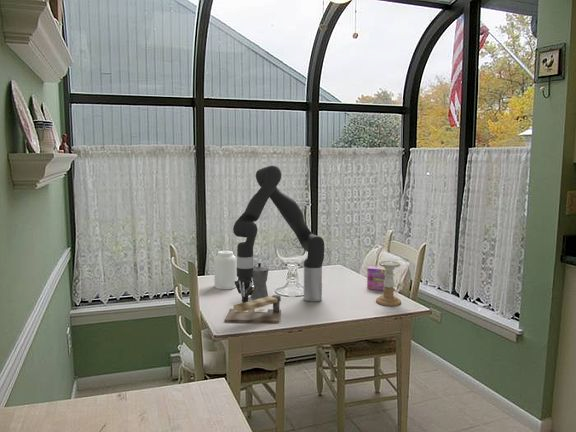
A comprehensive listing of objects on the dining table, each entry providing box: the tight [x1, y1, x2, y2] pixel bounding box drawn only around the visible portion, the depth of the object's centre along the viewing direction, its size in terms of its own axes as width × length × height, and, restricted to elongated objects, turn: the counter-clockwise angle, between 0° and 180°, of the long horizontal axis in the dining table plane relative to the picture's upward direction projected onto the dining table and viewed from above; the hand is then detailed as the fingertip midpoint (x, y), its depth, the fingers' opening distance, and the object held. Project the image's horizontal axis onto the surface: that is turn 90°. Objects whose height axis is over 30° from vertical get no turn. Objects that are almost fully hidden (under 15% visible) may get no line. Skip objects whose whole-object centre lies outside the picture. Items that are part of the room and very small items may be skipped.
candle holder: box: [375, 260, 402, 307], centre depth 242 cm, size 12×12×20 cm
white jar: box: [213, 249, 238, 290], centre depth 268 cm, size 12×12×20 cm
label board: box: [224, 301, 282, 324], centre depth 220 cm, size 24×15×6 cm, turn 88°
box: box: [366, 265, 386, 291], centre depth 268 cm, size 10×6×12 cm, turn 68°
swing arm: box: [233, 294, 282, 312], centre depth 217 cm, size 24×5×2 cm, turn 133°
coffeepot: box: [250, 262, 269, 300], centre depth 251 cm, size 15×9×18 cm, turn 33°
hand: (244, 303), depth 217 cm, fingers closed
